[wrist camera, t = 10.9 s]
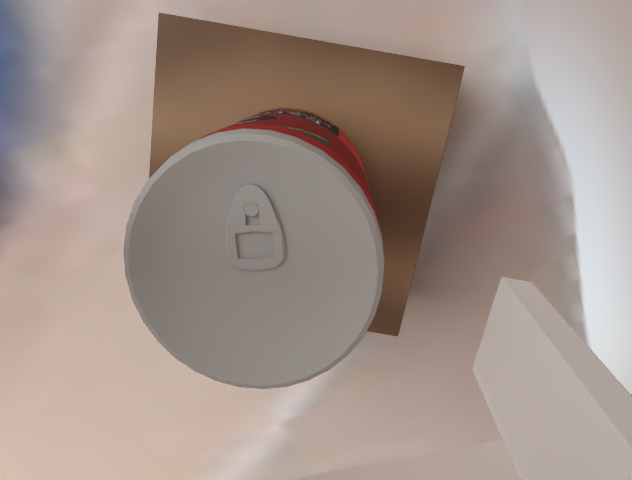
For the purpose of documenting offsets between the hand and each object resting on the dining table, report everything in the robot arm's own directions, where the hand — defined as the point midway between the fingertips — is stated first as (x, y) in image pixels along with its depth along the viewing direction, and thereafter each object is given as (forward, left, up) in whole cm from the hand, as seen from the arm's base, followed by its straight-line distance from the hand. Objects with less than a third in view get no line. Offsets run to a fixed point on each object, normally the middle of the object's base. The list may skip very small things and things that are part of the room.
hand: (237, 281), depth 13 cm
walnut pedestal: (0, 0, -19) cm, 19 cm away
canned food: (0, 0, -13) cm, 13 cm away
